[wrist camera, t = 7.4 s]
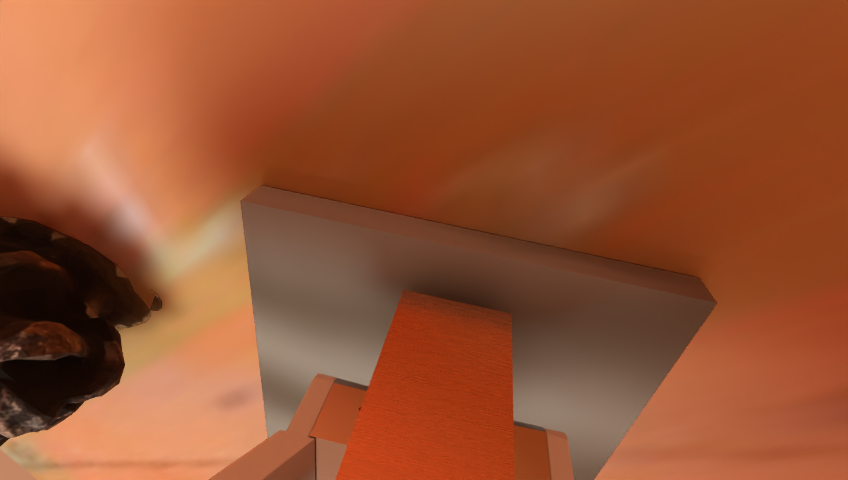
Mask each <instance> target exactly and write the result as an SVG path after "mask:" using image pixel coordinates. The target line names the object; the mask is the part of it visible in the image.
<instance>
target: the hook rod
mask: <svg viewBox="0 0 848 480" xmlns="http://www.w3.org/2000/svg"><path fill="white" fill-rule="evenodd" d="M335 480H515V471H514V417H513V364H512V314H510V313H505V312H501V311H497V310H492V309H488V308H483V307H479V306H474V305H470V304H466V303H461V302H457V301H452V300H448V299H443V298H439V297H434V296H430V295H426V294H421V293H417V292H412V291H408V290H403V292H402V294H401V297H400V300H399V303H398V306H397V308H396V311H395V314H394V317H393V320H392V322H391V325H390V328H389V331H388V334H387V336H386V339H385V342H384V345H383V348H382V350H381V353H380V356H379V359H378V362H377V364H376V367H375V370H374V373H373V375H372V378H371V381H370V384H369V387H368V389H367V392H366V395H365V398H364V401H363V403H362V406H361V409H360V412H359V415H358V417H357V420H356V423H355V426H354V429H353V431H352V434H351V437H350V440H349V443H348V445H347V448H346V451H345V454H344V457H343V459H342V462H341V465H340V468H339V471H338V473H337V476H336V479H335Z"/></svg>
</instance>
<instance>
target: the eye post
mask: <svg viewBox="0 0 848 480" xmlns="http://www.w3.org/2000/svg"><path fill="white" fill-rule="evenodd" d="M241 209H242V217H243V226H244V235H245V243H246V252H247V261H248V269H249V278H250V287H251V295H252V304H253V313H254V322H255V330H256V339H257V348H258V356H259V365H260V374H261V382H262V391H263V400H264V408H265V417H266V426H267V434H268V438H269V437H271V436H272V435H273V434H275V433H276V432H278V431H279V430H284V431H286V430H287V428H288V426H289V424H290V422H291V421H292V419H293V417H294V415H295V413H296V411H297V409H298V407H299V405H300V403H301V401H302V399H303V397H304V395H305V393H306V391H307V389H308V387H309V385H310V384H311V382H312V380H313V378H314V377H315V376H316V375H317V373H320V374H324V375H328V376H332V377H336V378H339V379H343V380H347V381H351V382H355V383H359V384H362V385H366V386H369V384H370V381H371V378H372V375H373V373H374V370H375V367H376V364H377V362H378V359H379V356H380V353H381V350H382V348H383V345H384V342H385V339H386V336H387V334H388V331H389V328H390V325H391V322H392V320H393V317H394V314H395V311H396V308H397V306H398V303H399V300H400V297H401V294H402V292H403V290H408V291H412V292H417V293H421V294H426V295H430V296H434V297H439V298H443V299H448V300H452V301H457V302H461V303H466V304H470V305H474V306H479V307H483V308H488V309H492V310H497V311H501V312H505V313H510V314H512V364H513V417H514V421H518V422H523V423H527V424H532V425H536V426H540V427H543V428H546V429H550V430H555V431H559V432H563V433H565V434H566V436H567V438H568V443H569V450H570V457H571V463H572V470H573V477H574V480H594V479H595V477H596V476H597V475H598V473H599V472H600V470H601V469H602V467H603V466H604V465H605V463H606V462H607V460H608V459H609V457H610V456H611V455H612V453H613V452H614V450H615V449H616V447H617V446H618V444H619V443H620V442H621V440H622V439H623V437H624V436H625V434H626V433H627V432H628V430H629V429H630V427H631V426H632V424H633V423H634V422H635V420H636V419H637V417H638V416H639V414H640V413H641V412H642V410H643V409H644V407H645V406H646V404H647V403H648V402H649V400H650V399H651V397H652V396H653V394H654V393H655V391H656V390H657V389H658V387H659V386H660V384H661V383H662V381H663V380H664V379H665V377H666V376H667V374H668V373H669V371H670V370H671V369H672V367H673V366H674V364H675V363H676V361H677V360H678V359H679V357H680V356H681V354H682V353H683V351H684V350H685V348H686V347H687V346H688V344H689V343H690V341H691V340H692V338H693V337H694V336H695V334H696V333H697V331H698V330H699V328H700V327H701V326H702V324H703V323H704V321H705V320H706V318H707V317H708V316H709V314H710V313H711V311H712V310H713V308H714V307H715V306H716V304H717V302H716V301H715V299H714V298H713V296H712V295H711V294H710V292H709V291H708V289H707V288H706V287H705V285H704V284H703V282H702V281H701V279H700V278H698V277H693V276H689V275H684V274H679V273H674V272H670V271H665V270H660V269H655V268H651V267H646V266H641V265H636V264H632V263H627V262H622V261H618V260H613V259H608V258H603V257H599V256H594V255H589V254H584V253H580V252H575V251H570V250H565V249H561V248H556V247H551V246H546V245H542V244H537V243H532V242H528V241H523V240H518V239H513V238H509V237H504V236H499V235H494V234H490V233H485V232H480V231H475V230H471V229H466V228H461V227H456V226H452V225H447V224H442V223H438V222H433V221H428V220H423V219H419V218H414V217H409V216H404V215H400V214H395V213H390V212H385V211H381V210H376V209H371V208H366V207H362V206H357V205H352V204H348V203H343V202H338V201H333V200H329V199H324V198H319V197H314V196H310V195H305V194H300V193H295V192H291V191H286V190H281V189H276V188H272V187H267V186H262V185H261V186H259V187H258V188H257V189H255V190H254V191H253V192H251V193H250V194H249V195H247V196H246V197H245V198H243V199H242V200H241Z"/></svg>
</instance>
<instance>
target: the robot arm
mask: <svg viewBox="0 0 848 480" xmlns="http://www.w3.org/2000/svg"><path fill="white" fill-rule="evenodd" d="M368 387H369V386H366V385H362V384H359V383H355V382H351V381H347V380H343V379H339V378H336V377H332V376H328V375H324V374H320V373H317V375H316V376H315V377H314V378H313V380H312V382H311V384H310V385H309V387H308V389H307V391H306V393H305V395H304V397H303V399H302V401H301V403H300V405H299V407H298V409H297V411H296V413H295V415H294V417H293V419H292V421H291V422H290V424H289V426H288V428H287V430H286V431H284V430H279V431H278V432H276V433H275V434H273V435H272V436H271V437H269V438H268V439H266V440H265V441H263V442H262V443H261V444H259V445H258V446H256V447H255V448H253V449H252V450H250V451H249V452H248V453H246V454H245V455H243V456H242V457H240V458H239V459H238V460H236V461H235V462H233V463H232V464H230V465H229V466H227V467H226V468H225V469H223V470H222V471H220V472H219V473H217V474H216V475H215V476H213V477H212V478H210V479H209V480H335V479H336V476H337V473H338V471H339V468H340V465H341V462H342V459H343V457H344V454H345V451H346V448H347V445H348V443H349V440H350V437H351V434H352V431H353V429H354V426H355V423H356V420H357V417H358V415H359V412H360V409H361V406H362V403H363V401H364V398H365V395H366V392H367V389H368ZM514 471H515V480H574V477H573V470H572V463H571V457H570V450H569V443H568V438H567V436H566V434H565V433H563V432H559V431H555V430H550V429H546V428H543V427H540V426H536V425H532V424H527V423H523V422H518V421H514Z"/></svg>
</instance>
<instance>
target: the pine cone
mask: <svg viewBox="0 0 848 480" xmlns="http://www.w3.org/2000/svg"><path fill="white" fill-rule="evenodd" d="M152 292H153V293H154V295H155V297H154V300H153V303H152V306H151V309H149V308H148V307H147V305H146V304H145V303H144V302H143V301H142V299H141V298H140V297H139V296H138V295H137V294H136V293H135V292H134V290H133V288H132V286H131V283H130V281H129V279H128V278H127V277H126V276H125V274H124V273H123V272H122V270H121V269H120V268H119V267H118V265H117V264H115V263H113V262H112V261H110V260H108V259H106V258H105V257H103V256H102V255H100V254H99V253H98V252H96V251H95V250H93V249H92V248H91V247H89V246H87V245H85V244H83V243H81V242H79V241H77V240H75V239H72V238H70V237H68V236H65V235H63V234H61V233H59V232H56V231H54V230H52V229H49V228H47V227H45V226H43V225H40V224H38V223H36V222H34V221H30V220H24V219H18V218H11V217H1V216H0V446H1V445H2V444H3V443H5V442H6V441H7V440H8V439H10V438H12V437H17V436H20V435H23V434H26V433H29V432H39V431H40V430H48V429H50V428H52V427H53V426H55V425H57V424H58V423H60V422H62V421H63V420H65V419H66V418H67V417H69V416H70V415H72V414H73V413H74V412H75V411H76V410H77V409H78V408H79V407H80V406H81V405H82V404H83V403H84V402H85V401H86V400H89V399H91V398H94V397H99V396H103V395H104V394H105V393H107V392H108V391H109V390H111V389H112V388H113V387H115V386H116V385H118V384H119V382H120V379H121V376H122V373H123V370H124V366H125V363H124V358H123V352H122V346H121V337H120V334H119V332H118V331H119V330H121V329H123V328H129V327H132V326H135V325H138V324H142V323H145V322H147V321H148V319H149V318H150V316H151V312H150V310H153V311H158V310H160V309H161V308H162V301H161V300H160V298H159V297H158V295H157V294H156V293H155V292H154V291H153V290H152Z"/></svg>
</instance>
